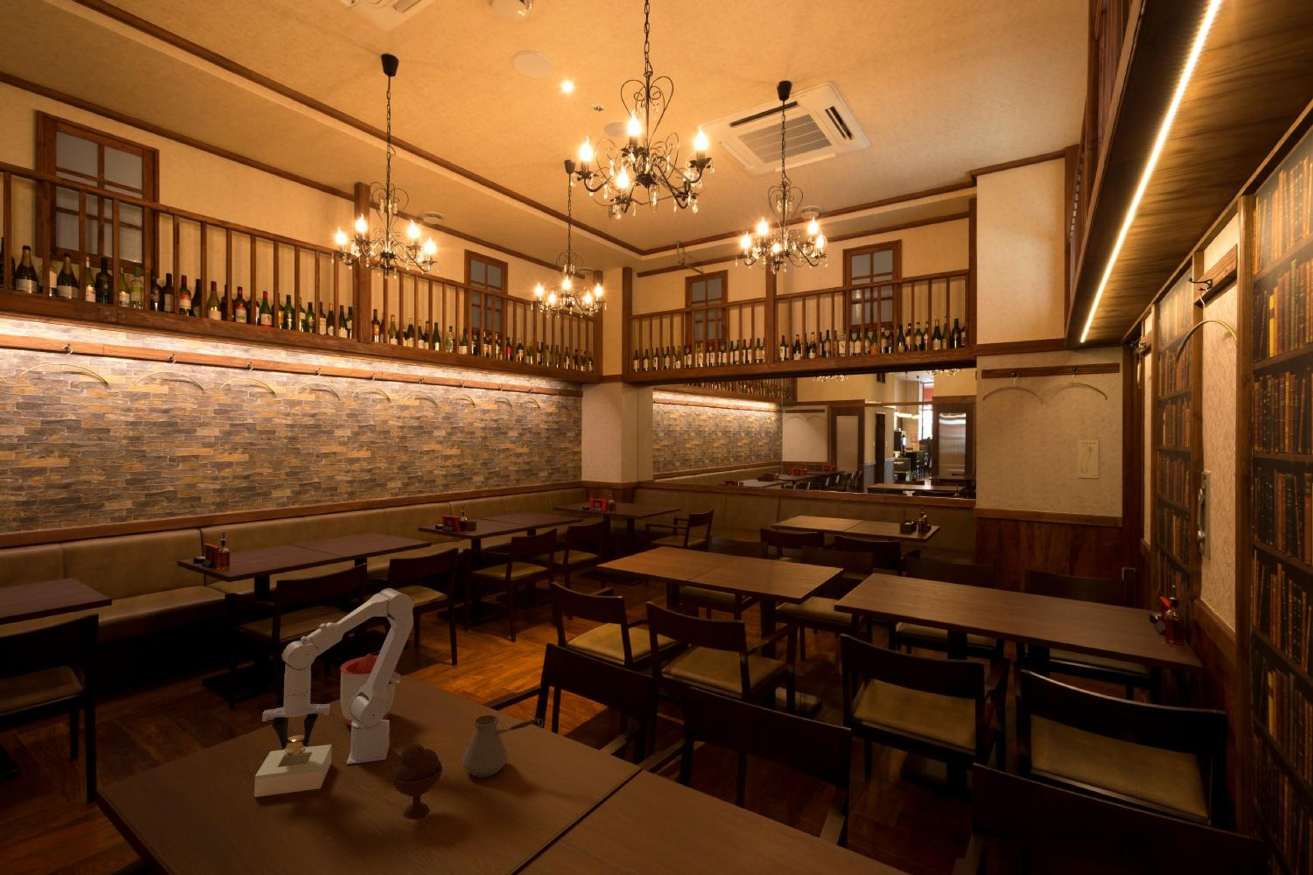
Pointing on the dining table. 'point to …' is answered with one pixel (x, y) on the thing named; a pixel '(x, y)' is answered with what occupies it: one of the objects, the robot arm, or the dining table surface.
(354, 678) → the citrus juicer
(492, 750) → the coffee pot
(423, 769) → the ice cream bowl
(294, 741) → the gold rounded piece
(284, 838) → the dining table surface
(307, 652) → the robot arm
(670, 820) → the dining table surface
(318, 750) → the beige square holder
